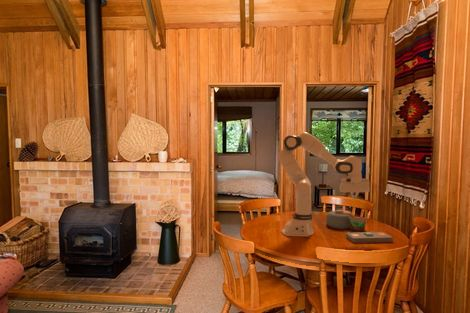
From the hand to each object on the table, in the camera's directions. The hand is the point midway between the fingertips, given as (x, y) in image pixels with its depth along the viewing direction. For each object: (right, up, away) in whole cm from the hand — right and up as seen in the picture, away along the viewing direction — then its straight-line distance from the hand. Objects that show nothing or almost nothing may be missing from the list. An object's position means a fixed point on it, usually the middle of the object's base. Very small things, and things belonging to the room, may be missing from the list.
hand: (354, 198), depth 206 cm
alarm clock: (-2, -25, +24) cm, 34 cm away
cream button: (-4, -25, -11) cm, 27 cm away
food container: (+6, -25, +10) cm, 28 cm away
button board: (+5, -26, -10) cm, 28 cm away
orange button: (+14, -25, -10) cm, 30 cm away
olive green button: (+5, -24, -10) cm, 26 cm away
